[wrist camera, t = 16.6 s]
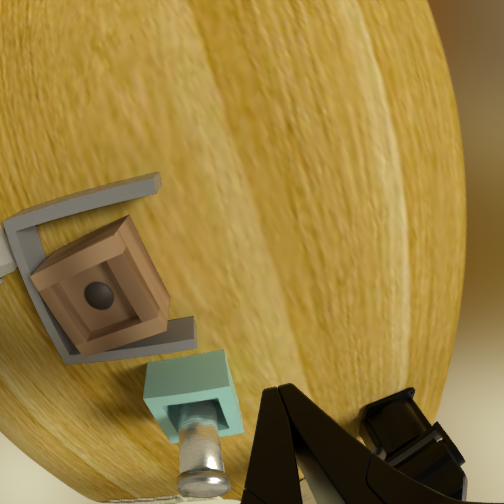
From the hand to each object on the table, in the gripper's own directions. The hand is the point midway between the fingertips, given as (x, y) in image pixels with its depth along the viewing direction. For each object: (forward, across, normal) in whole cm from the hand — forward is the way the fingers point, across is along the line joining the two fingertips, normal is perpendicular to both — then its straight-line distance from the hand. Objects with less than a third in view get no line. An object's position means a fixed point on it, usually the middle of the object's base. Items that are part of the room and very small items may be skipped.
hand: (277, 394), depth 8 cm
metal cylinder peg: (+11, +5, +11) cm, 16 cm away
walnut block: (+12, +8, 0) cm, 15 cm away
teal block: (+12, +5, +11) cm, 17 cm away
